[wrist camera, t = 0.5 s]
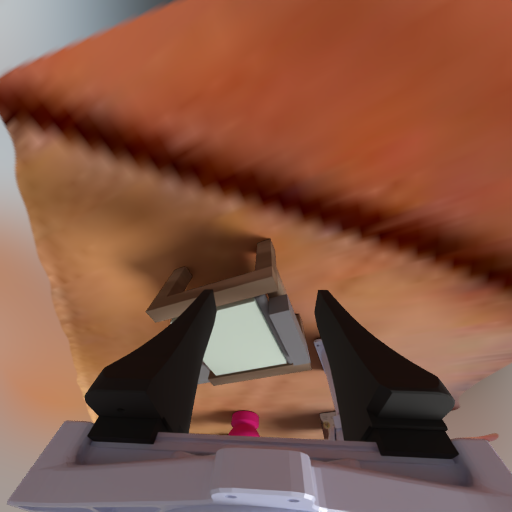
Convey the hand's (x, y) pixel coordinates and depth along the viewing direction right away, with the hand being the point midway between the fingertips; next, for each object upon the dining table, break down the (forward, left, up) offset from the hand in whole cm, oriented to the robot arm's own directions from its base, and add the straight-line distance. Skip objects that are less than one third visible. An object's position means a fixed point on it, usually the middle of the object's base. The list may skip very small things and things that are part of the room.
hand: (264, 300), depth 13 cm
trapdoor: (-7, +5, -4) cm, 10 cm away
